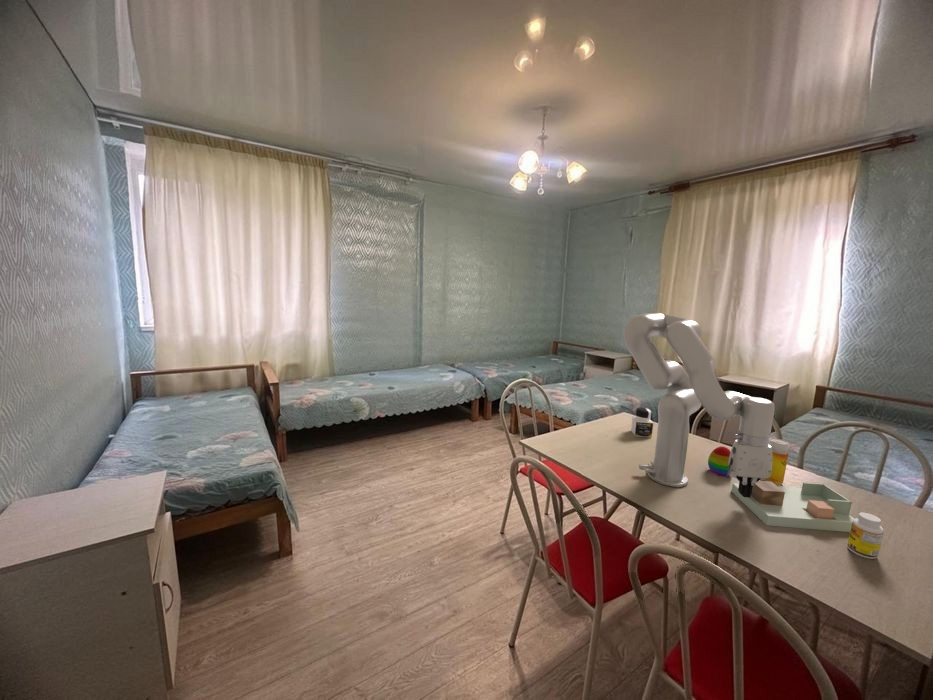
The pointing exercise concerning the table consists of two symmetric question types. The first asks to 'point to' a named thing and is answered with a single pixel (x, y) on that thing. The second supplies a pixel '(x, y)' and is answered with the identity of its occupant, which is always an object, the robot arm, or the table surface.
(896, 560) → the table surface
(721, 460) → the decorative egg
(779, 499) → the walnut block
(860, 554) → the supplement bottle
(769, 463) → the robot arm
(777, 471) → the pill bottle
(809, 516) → the board
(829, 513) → the terracotta block
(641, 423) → the medicine bottle
